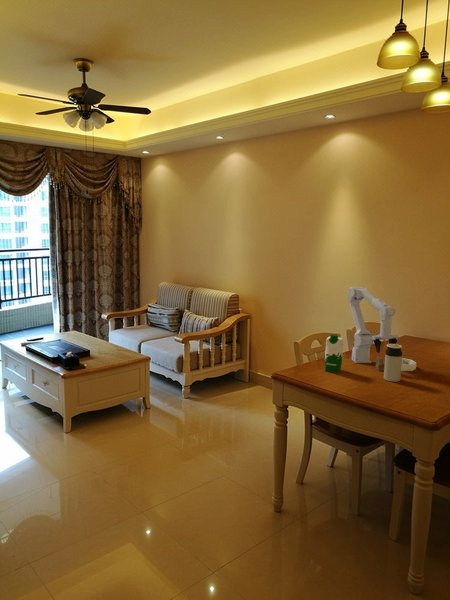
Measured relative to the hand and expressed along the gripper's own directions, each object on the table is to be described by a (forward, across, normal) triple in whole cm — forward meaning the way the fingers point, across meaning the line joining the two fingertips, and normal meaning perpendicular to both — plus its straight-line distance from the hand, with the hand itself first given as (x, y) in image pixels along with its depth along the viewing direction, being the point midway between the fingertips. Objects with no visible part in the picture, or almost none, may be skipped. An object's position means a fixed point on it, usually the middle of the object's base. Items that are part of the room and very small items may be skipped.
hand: (384, 352), depth 257 cm
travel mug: (+10, -6, -18) cm, 22 cm away
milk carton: (+10, -29, +1) cm, 31 cm away
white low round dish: (+10, +12, +1) cm, 15 cm away
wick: (+10, -4, -2) cm, 10 cm away
